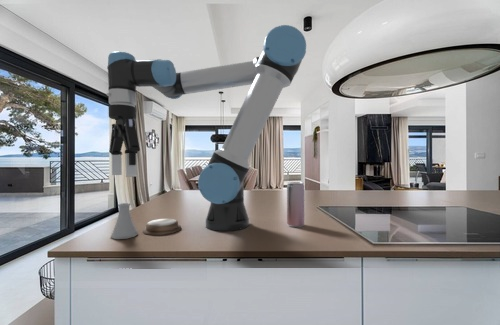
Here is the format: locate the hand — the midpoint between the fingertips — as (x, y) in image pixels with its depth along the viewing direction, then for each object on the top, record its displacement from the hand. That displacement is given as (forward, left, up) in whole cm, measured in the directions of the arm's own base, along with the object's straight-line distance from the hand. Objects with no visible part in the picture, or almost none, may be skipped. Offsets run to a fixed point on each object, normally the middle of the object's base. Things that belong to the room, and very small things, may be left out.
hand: (123, 175), depth 77 cm
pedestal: (-9, -7, -19) cm, 22 cm away
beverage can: (-54, -13, -19) cm, 59 cm away
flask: (0, 0, -19) cm, 19 cm away
